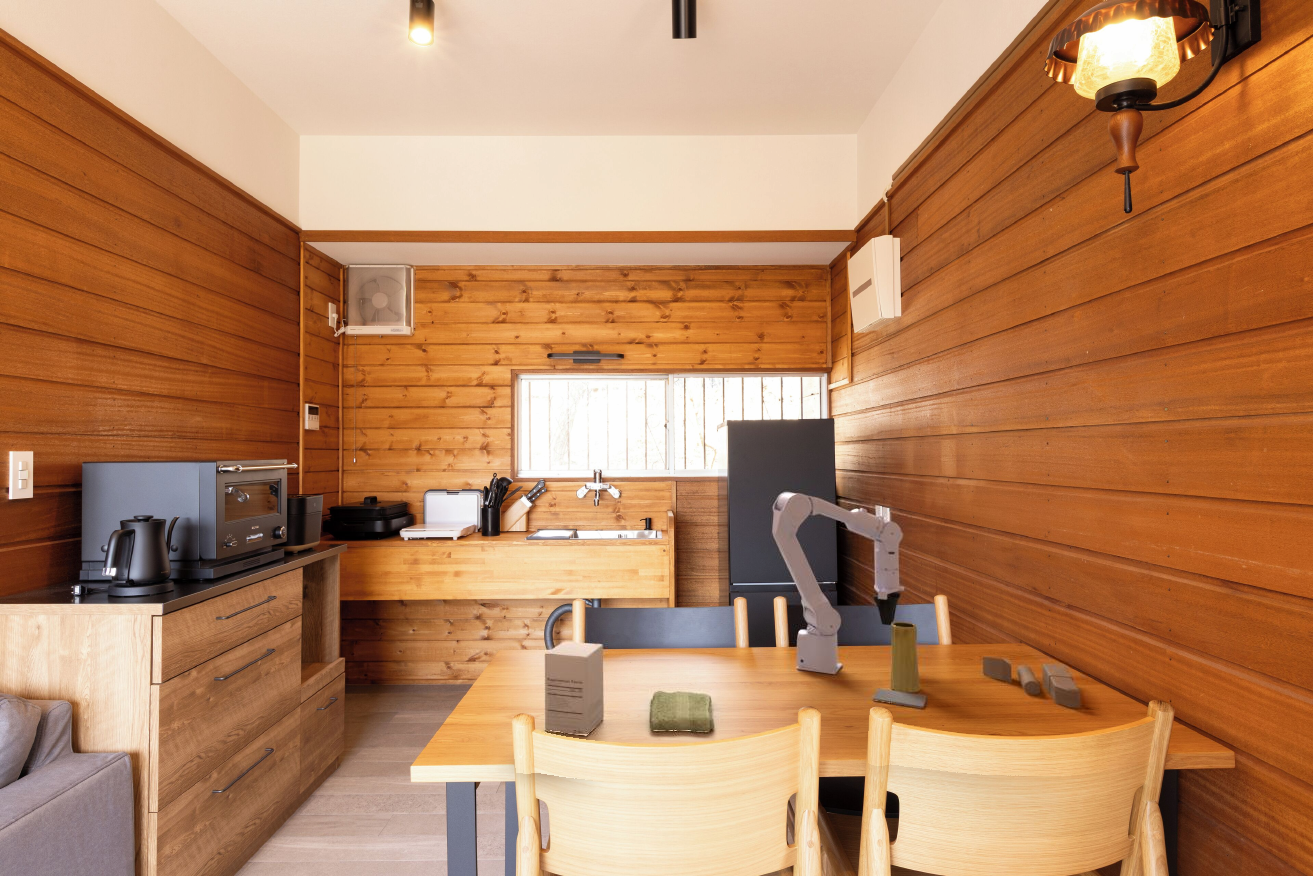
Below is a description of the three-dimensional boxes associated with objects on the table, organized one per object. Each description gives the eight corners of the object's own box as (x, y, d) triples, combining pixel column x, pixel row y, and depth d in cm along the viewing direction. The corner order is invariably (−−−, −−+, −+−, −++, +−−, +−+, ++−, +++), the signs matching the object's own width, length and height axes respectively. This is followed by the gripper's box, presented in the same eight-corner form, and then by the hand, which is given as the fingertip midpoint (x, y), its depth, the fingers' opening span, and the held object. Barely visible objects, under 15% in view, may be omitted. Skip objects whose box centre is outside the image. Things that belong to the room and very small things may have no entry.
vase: (922, 694, 144) (920, 628, 144) (892, 692, 145) (891, 627, 146) (916, 684, 150) (915, 621, 150) (888, 683, 151) (887, 620, 152)
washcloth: (711, 702, 141) (711, 687, 141) (715, 736, 124) (715, 719, 124) (650, 701, 142) (650, 686, 142) (645, 735, 124) (645, 718, 124)
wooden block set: (1064, 659, 151) (1081, 684, 135) (1064, 684, 151) (1082, 712, 134) (982, 651, 158) (989, 674, 141) (982, 675, 158) (989, 701, 141)
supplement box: (563, 714, 134) (563, 640, 134) (604, 719, 131) (604, 643, 132) (543, 732, 125) (543, 652, 125) (586, 737, 122) (586, 656, 123)
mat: (872, 700, 140) (872, 698, 140) (878, 690, 146) (878, 688, 146) (923, 708, 135) (923, 706, 135) (926, 698, 142) (926, 695, 142)
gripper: (899, 574, 157) (900, 631, 156) (907, 565, 170) (908, 618, 169) (868, 571, 160) (869, 628, 160) (879, 563, 173) (880, 615, 173)
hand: (887, 623), depth 165 cm, fingers open, 3 cm apart
